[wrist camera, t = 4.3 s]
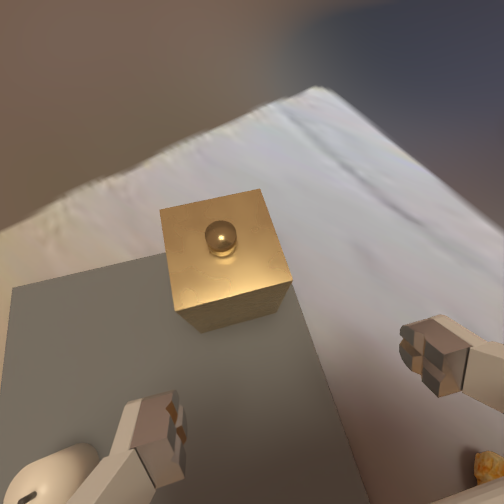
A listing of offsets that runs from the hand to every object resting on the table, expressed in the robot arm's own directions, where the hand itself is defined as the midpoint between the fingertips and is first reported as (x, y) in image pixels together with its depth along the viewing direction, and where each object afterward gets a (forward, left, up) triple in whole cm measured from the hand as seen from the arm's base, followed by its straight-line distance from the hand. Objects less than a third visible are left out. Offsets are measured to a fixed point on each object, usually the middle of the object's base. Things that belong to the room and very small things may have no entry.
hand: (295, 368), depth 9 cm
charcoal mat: (+1, +7, -11) cm, 14 cm away
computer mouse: (-2, +13, -11) cm, 17 cm away
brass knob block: (+7, +1, -11) cm, 13 cm away
